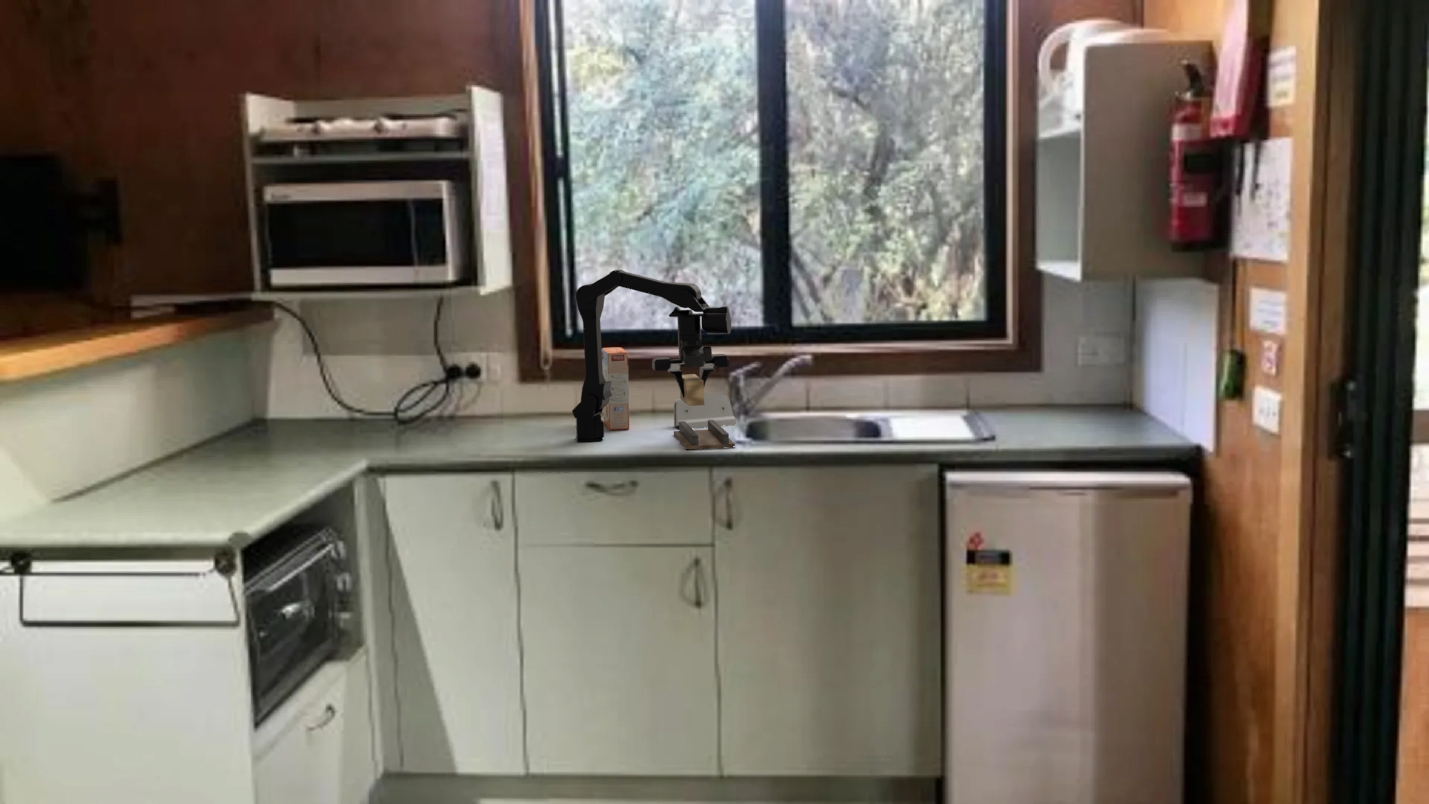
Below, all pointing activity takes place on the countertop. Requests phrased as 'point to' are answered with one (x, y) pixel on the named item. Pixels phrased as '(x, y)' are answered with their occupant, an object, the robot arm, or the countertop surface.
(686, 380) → the wooden block
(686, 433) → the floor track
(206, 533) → the countertop surface
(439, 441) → the countertop surface
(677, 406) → the grey upright panel
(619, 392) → the cracker box
